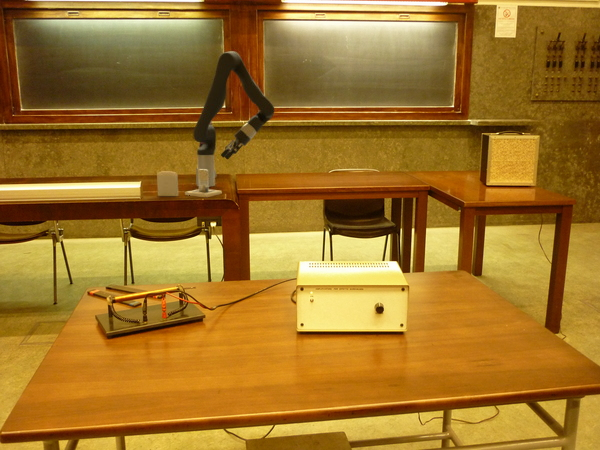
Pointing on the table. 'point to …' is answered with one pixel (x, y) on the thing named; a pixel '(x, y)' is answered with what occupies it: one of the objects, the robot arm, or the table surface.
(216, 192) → the board
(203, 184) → the canister
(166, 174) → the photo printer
